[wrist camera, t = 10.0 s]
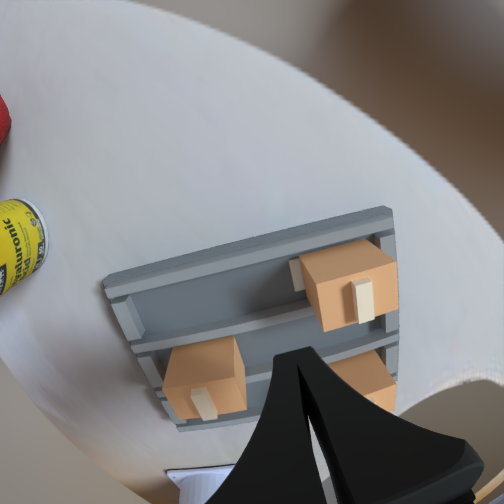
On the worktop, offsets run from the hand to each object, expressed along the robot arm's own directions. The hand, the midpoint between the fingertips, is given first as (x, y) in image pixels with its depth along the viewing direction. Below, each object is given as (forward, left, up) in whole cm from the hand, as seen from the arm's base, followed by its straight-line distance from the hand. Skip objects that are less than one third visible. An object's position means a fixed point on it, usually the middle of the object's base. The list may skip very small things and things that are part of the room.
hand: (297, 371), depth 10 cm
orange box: (0, -4, -8) cm, 9 cm away
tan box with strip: (-4, +5, -8) cm, 10 cm away
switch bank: (-4, +1, -9) cm, 10 cm away
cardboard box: (-8, -4, -8) cm, 12 cm away
